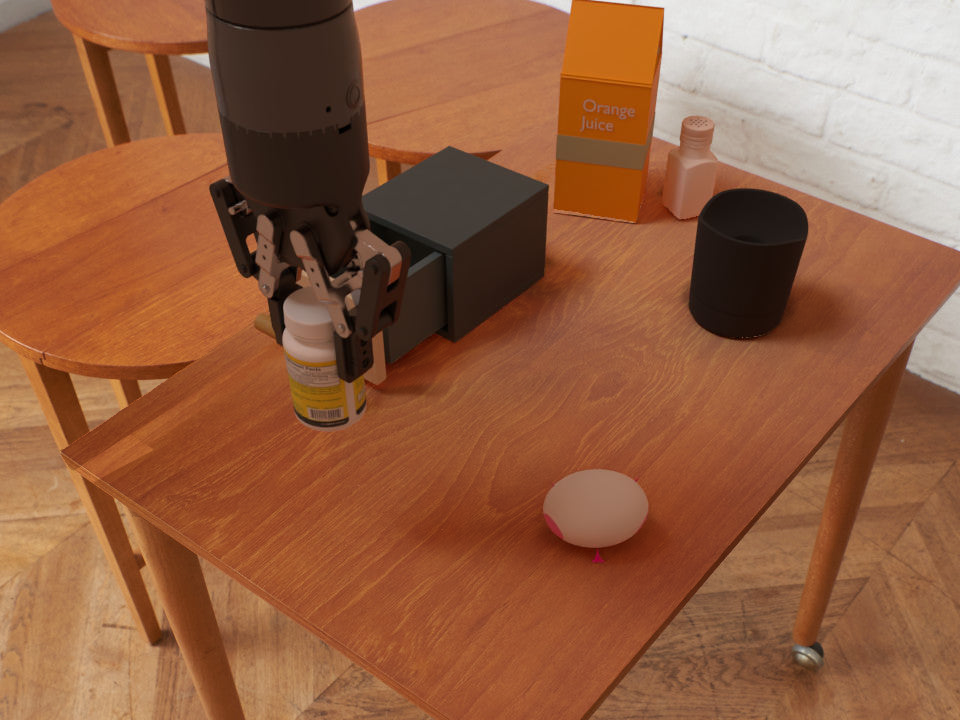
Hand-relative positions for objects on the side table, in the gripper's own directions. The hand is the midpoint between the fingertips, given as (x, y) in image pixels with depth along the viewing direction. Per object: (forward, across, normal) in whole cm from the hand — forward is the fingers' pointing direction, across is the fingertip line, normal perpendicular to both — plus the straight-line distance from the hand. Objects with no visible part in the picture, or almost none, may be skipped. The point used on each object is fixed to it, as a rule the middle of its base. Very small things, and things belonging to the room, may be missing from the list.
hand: (324, 357), depth 66 cm
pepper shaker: (+16, -4, +55) cm, 57 cm away
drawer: (+15, -14, +17) cm, 26 cm away
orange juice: (+16, -12, +51) cm, 55 cm away
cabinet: (+16, -14, +29) cm, 36 cm away
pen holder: (+16, +9, +42) cm, 46 cm away
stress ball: (+16, +14, +11) cm, 24 cm away
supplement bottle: (+5, 0, 0) cm, 5 cm away
